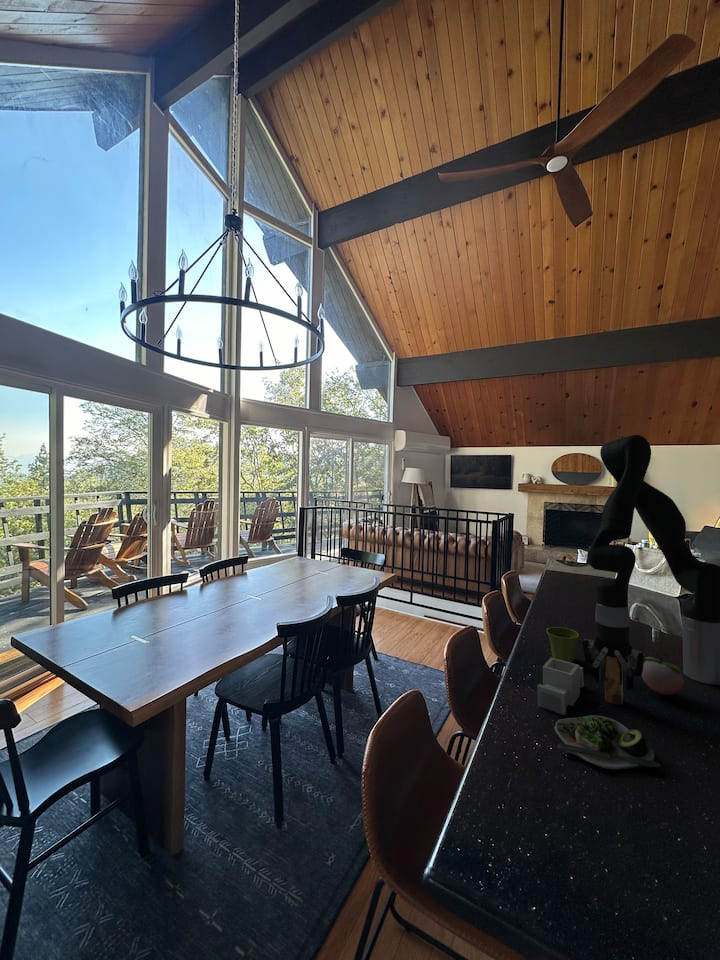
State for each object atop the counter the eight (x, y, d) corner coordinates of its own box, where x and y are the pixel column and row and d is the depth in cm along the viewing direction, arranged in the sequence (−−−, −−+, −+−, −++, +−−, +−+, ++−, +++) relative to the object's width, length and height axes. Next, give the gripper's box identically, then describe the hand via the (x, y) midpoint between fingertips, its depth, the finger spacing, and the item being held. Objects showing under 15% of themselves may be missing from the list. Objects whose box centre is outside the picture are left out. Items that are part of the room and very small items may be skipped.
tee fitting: (585, 686, 112) (584, 658, 112) (566, 716, 98) (565, 683, 98) (557, 678, 117) (556, 650, 117) (536, 705, 103) (535, 674, 103)
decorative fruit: (636, 693, 108) (635, 656, 108) (645, 683, 113) (644, 647, 113) (679, 708, 100) (679, 668, 100) (687, 696, 106) (687, 658, 106)
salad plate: (582, 783, 77) (582, 759, 77) (533, 726, 95) (533, 707, 95) (674, 774, 79) (674, 751, 79) (610, 720, 97) (609, 701, 97)
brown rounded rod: (624, 700, 105) (623, 654, 105) (621, 706, 102) (620, 659, 102) (606, 694, 107) (605, 650, 107) (603, 701, 104) (602, 655, 104)
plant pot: (546, 662, 127) (545, 635, 127) (547, 650, 135) (547, 625, 135) (579, 668, 122) (579, 640, 122) (579, 655, 131) (578, 629, 130)
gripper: (647, 623, 102) (649, 688, 102) (585, 611, 112) (586, 671, 112) (643, 632, 97) (644, 701, 97) (577, 618, 107) (579, 681, 107)
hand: (613, 684), depth 105 cm, fingers open, 6 cm apart
